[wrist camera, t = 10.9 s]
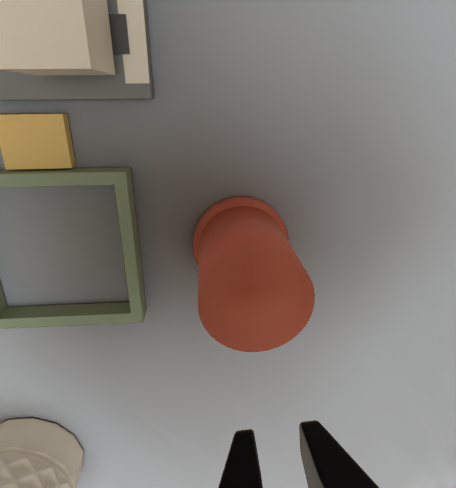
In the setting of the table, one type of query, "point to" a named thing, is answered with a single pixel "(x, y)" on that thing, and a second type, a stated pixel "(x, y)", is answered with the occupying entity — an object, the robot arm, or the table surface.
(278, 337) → the cap
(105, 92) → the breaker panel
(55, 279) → the table surface
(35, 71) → the toggle
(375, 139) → the table surface
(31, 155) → the frame
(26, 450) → the white cup
